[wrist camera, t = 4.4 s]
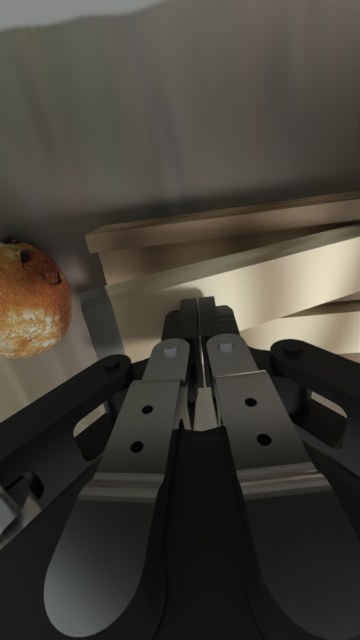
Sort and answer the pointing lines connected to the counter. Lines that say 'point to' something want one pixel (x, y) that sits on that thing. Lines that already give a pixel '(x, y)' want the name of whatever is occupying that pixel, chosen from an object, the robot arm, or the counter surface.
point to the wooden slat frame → (234, 237)
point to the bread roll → (31, 300)
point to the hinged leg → (226, 289)
